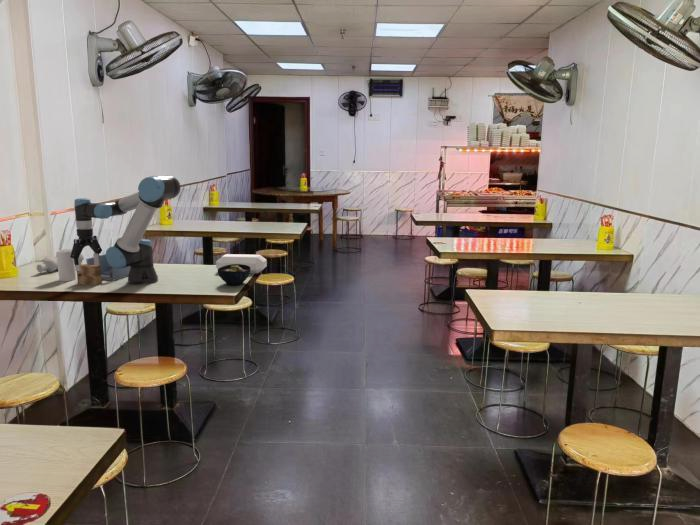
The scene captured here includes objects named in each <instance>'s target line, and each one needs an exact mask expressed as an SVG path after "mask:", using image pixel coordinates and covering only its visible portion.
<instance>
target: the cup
mask: <svg viewBox="0 0 700 525" xmlns="http://www.w3.org/2000/svg"><path fill="white" fill-rule="evenodd" d="M71 252H72V249H71V248H70V249H66V248H65V249H59V250H56V252H55V254H56V257H57V263H58V270H57V271H58V280H59V281H60V282H70V281H75V280H77V271H76V270H75V264H74V259H73V258H70V256H71ZM73 256H74V255H73Z"/></svg>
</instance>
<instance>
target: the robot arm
mask: <svg viewBox="0 0 700 525" xmlns="http://www.w3.org/2000/svg"><path fill="white" fill-rule="evenodd" d="M137 186H138V187H137V191H138V192H135V193H133V194H130V195H127V196H125V197H123V198H120V199H117V200H115V201H107V202H99V203H98V202H92V201H91V199H90V198H88V197H79V198H76V199H74V215H75V225H76V226H75V227H76V236H78V238H75V239H73V244H72V249H71V250H72V252H71V256H70V258H73V259H74V264H75V272H77V271H81V265H80V258H79V256H80V254H82V251H83V250H84V249H85V247H87V246H89V248H90V249H91V250H92V251H93V252H94V253H93V257H94V265H100V264H99V258H100V257H99V255H100V254H101V253H102V251H103V249H102V247H101V245H100V243H99V241H98V237H97V235H94V231H93V230H94V229H93V227H94V226H93V219H101V220H102V219H109V218H110V217H114V216H115V217H116V216H124V215H126V214H127V213H129V212H131V211H134V213H133V214H132V216H131V218H130V220H129V222H128V224H127V226H126V228H125V229H124V233H122V237H118V238H117V239H116V241H115V243H114V245H113V246H110V247H108V248H107V249H106V252H105V254H106V259H107V262H108V263H109V265H110V266H111V267H113V268H115V269H121V268H125V267H129V266H130V272H129V275H128V278H127V283H128V284H130V285H148V284H153V283H156V282H158V281H159V276H158V274H157V271H156V269H155V265H154V256H153V254H154V252H153V251H154V250H153V242H152V240H150V239H145V238H144V239H143V236H144V235H145V233H146V231H147V228H148V227H149V225H150V223H151V221H152V219H153V218H154V215H155V213H156V211H157V210H158V209H162V207H163V205H164V202H165V201H167V200H171V199H175V198H176V197H178V196H179V194H180V193H181V184H180V181H179V180H178V178H176V177H174V176H173V175H157V176H156V175H152V176H151V175H150V176H148V177H144V178H143V179H142V180H141V181H140V182H139V184H138V185H137ZM92 218H93V219H92ZM73 255H74V256H73Z"/></svg>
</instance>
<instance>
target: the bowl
mask: <svg viewBox="0 0 700 525" xmlns="http://www.w3.org/2000/svg"><path fill="white" fill-rule="evenodd" d="M250 269H251V268H250V267H249V266H247V265H242V264H232V265H226V266H223V267H221V268H219V269H217V275H218V277H219V278H220V279H221V280H222V281H223V282H224V283H225V284H226V286H231V287H234V286H235V287H237V286H241V285H244V282H245V281H246V280H247V278H248V277H249V276H250V274H251V273H250Z"/></svg>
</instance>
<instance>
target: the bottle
mask: <svg viewBox="0 0 700 525" xmlns="http://www.w3.org/2000/svg"><path fill="white" fill-rule="evenodd" d="M79 258H80V264H83V261H84V259H85V257H84V254H83V253H81V254H80V256H79ZM36 270H37V272H38V273H43V272H49V273H53V272H55V271H58V263H57V256H54V257H53V258H46V259H45V260H44V261H43V263H41V264H38V265H36Z"/></svg>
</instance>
